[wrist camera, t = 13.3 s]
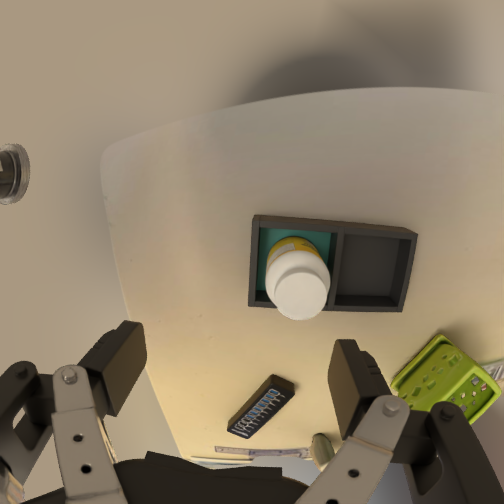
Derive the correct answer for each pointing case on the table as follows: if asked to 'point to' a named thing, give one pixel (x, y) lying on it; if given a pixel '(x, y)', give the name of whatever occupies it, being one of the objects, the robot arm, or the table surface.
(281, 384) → the multiport hub
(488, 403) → the flower pot
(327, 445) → the cream tall rounded block
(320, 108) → the table surface
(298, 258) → the pill bottle
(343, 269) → the dark grey divided tray
